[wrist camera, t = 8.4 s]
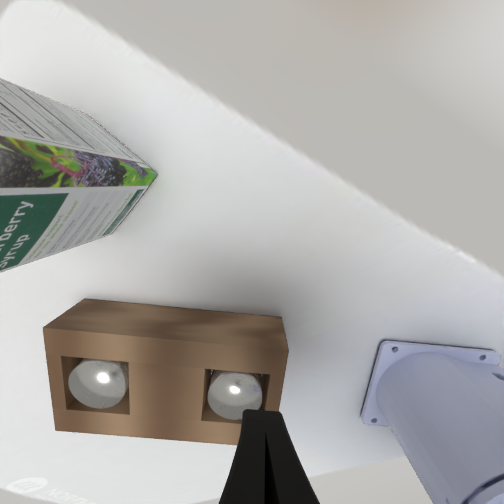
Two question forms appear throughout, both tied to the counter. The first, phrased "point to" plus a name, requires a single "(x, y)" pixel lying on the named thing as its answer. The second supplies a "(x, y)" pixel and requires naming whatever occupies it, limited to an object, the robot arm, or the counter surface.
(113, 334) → the walnut block
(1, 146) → the syrup box
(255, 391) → the silver short cylinder
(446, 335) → the counter surface
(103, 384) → the outer pin
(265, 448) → the robot arm
